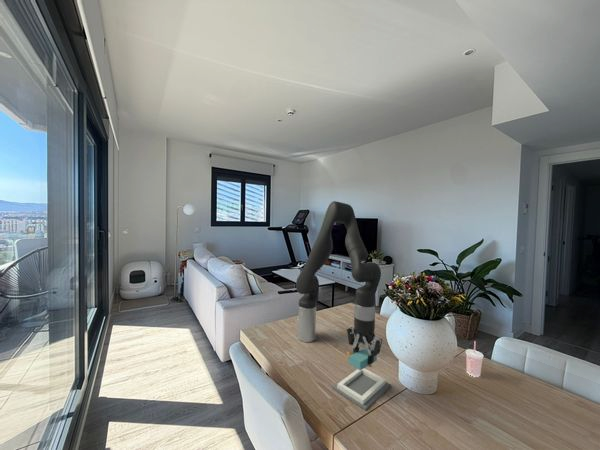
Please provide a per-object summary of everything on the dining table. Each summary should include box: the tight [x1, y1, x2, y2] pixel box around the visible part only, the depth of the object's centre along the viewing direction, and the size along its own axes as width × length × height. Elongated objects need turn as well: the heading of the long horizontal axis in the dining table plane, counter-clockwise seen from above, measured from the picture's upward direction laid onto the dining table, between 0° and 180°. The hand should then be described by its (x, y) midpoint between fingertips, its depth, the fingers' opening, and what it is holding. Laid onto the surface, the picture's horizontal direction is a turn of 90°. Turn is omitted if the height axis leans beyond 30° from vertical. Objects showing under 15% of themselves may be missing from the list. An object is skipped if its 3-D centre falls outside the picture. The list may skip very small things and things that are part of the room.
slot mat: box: [331, 367, 392, 411], centre depth 93 cm, size 14×18×2 cm
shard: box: [347, 350, 371, 367], centre depth 111 cm, size 11×8×2 cm
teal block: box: [348, 347, 378, 370], centre depth 93 cm, size 10×5×3 cm, turn 128°
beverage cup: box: [465, 340, 484, 378], centre depth 103 cm, size 6×6×14 cm
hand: (363, 360), depth 93 cm, fingers closed on teal block, 5 cm apart
